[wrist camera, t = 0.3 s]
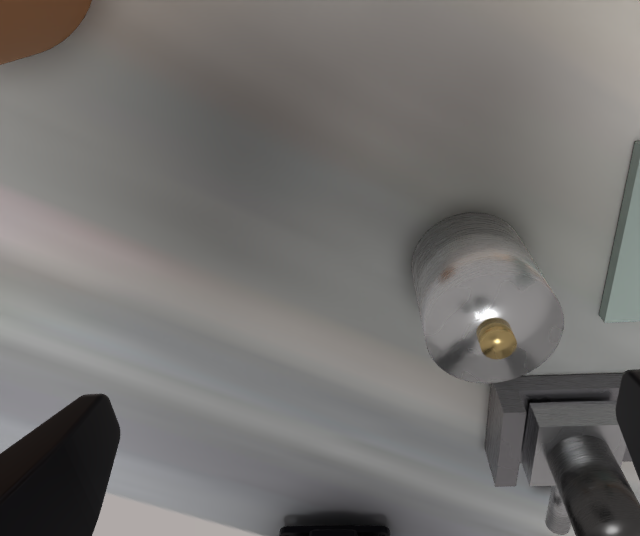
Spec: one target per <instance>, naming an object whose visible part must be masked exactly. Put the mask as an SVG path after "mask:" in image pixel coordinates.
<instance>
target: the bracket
mask: <svg viewBox="0 0 640 536" xmlns="http://www.w3.org/2000/svg"><path fill="white" fill-rule="evenodd" d="M91 1H92V0H0V65H1V64H5V63H8V62H11V61H15V60H18V59H21V58H25V57H28V56H31V55H35V54H38V53H41V52H44V51H46V50H48V49H51V48H53V47H54V46H56V45H58V44H59V43H61V42H62V41H63V40H65V39H66V38H67V37H68V36H69V35H70V34H71V33H72V32H73V31H74V30H75V29H76V28H77V27H78V25H79V24H80V23H81V21H82V20H83V18H84V17H85V15H86V13H87V11H88V9H89V7H90V4H91Z"/></svg>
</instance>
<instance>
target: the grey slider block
mask: <svg viewBox="0 0 640 536" xmlns="http://www.w3.org/2000/svg"><path fill="white" fill-rule="evenodd" d="M616 402H617V401H585V402H547V403H530V404H529V411H528V418H527V425H526V432H525V438H524V445H523V452H522V459H521V462H522V465H523V468H524V471H525V474H526V477H527V480H528V483H529V486H552V489H551V494H550V499H549V504H548V510H547V515H546V520H545V522H546V526H547V527H548V529H549V530H550V531H552V532H553V533H556V534H559V535H564V534H566V533H568V532H569V530H570V527H571V524H572V527H573V529H574V532H575V534H576V536H640V504H639V502H638V500H637V498H636V496H635V495H634V493H633V491H632V489H631V487H630V485H629V483H628V481H627V480H626V478H625V476H624V474H623V472H622V470H621V468H620V467H621V464H622V460H623V456H624V453H625V449H626V443H625V441H624V438H623V435H622V433H621V430H620V427H619V425H618V422H617V418H616V412H615V408H616Z"/></svg>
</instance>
